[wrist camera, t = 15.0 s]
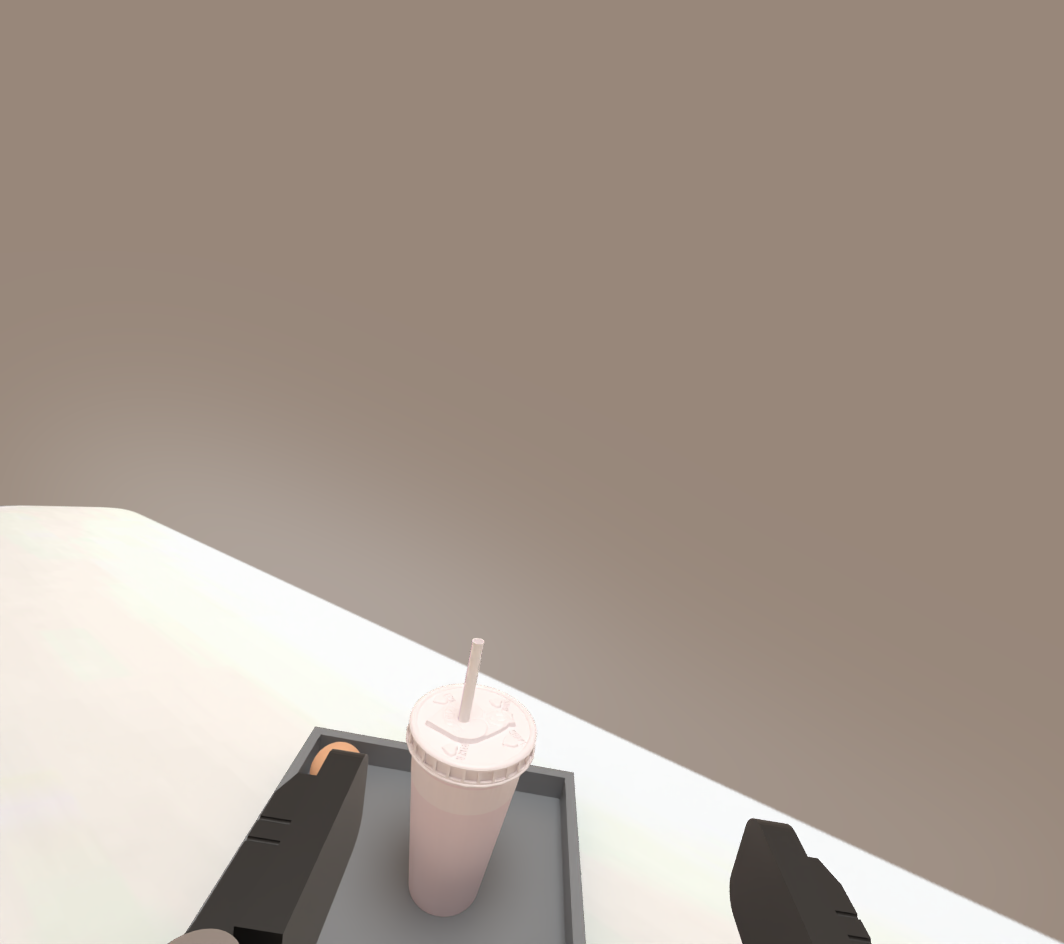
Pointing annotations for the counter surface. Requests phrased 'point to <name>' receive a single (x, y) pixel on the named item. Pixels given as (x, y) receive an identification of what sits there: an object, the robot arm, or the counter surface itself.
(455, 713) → the smoothie
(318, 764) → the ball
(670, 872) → the counter surface
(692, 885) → the counter surface
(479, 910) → the tray
